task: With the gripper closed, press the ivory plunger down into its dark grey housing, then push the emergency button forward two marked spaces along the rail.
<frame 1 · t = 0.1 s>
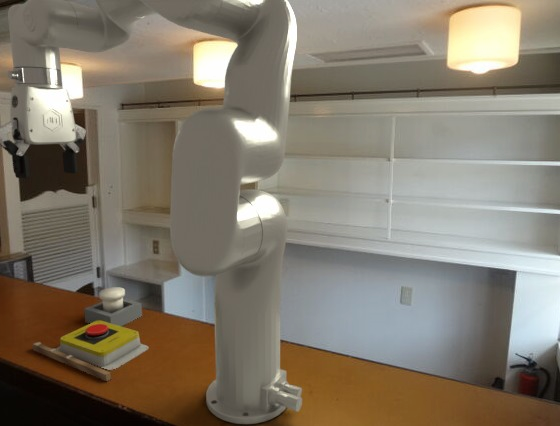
hand: (48, 175, 83), 31 cm above the bar counter, tool pointing down, fingers open, 9 cm apart
plunger: (112, 300, 93), point 4 cm above the bar counter, slide at 0.0 cm
emergency button: (102, 352, 81), on the bar counter
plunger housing: (114, 319, 94), on the bar counter
rail: (69, 363, 76), on the bar counter
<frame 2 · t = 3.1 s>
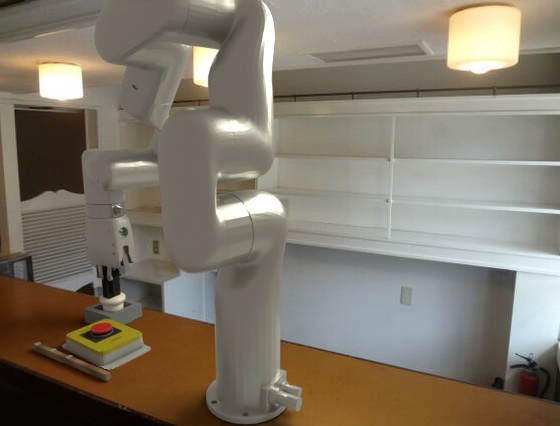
hand: (112, 296, 93), 5 cm above the bar counter, tool pointing down, fingers closed
plunger: (113, 304, 93), point 3 cm above the bar counter, slide at -1.1 cm, touching gripper
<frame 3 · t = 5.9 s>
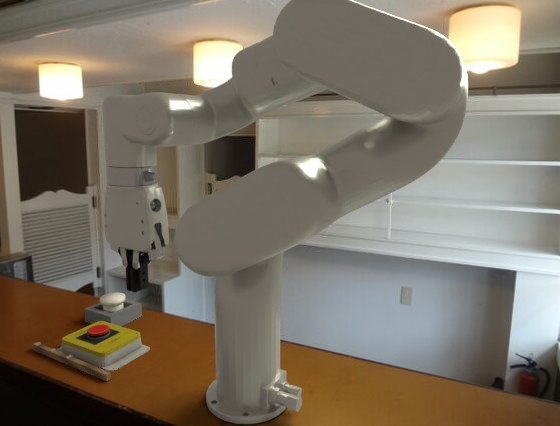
hand: (137, 288, 72), 14 cm above the bar counter, tool pointing down, fingers closed
plunger: (113, 305, 93), point 3 cm above the bar counter, slide at -1.2 cm
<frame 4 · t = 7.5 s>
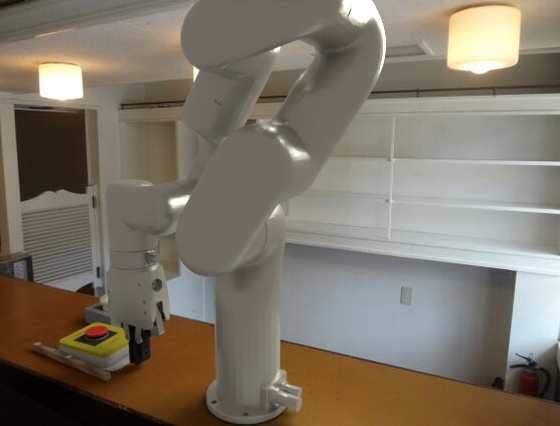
hand: (140, 360, 75), 1 cm above the bar counter, tool pointing down, fingers closed
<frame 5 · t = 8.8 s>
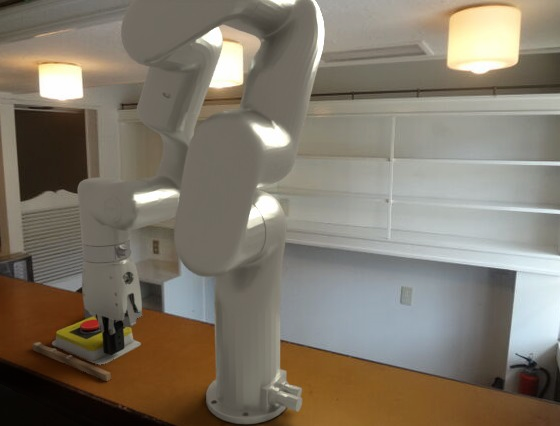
hand: (114, 350, 78), 1 cm above the bar counter, tool pointing down, fingers closed
emergency button: (96, 347, 83), on the bar counter, touching gripper
everything else where it was.
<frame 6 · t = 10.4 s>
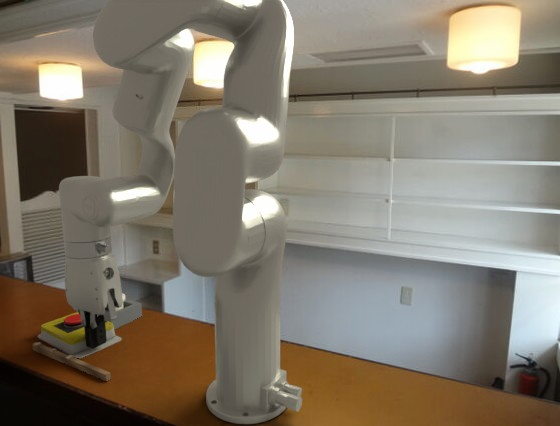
hand: (96, 344, 80), 1 cm above the bar counter, tool pointing down, fingers closed
emergency button: (79, 341, 86), on the bar counter
everything else where it was.
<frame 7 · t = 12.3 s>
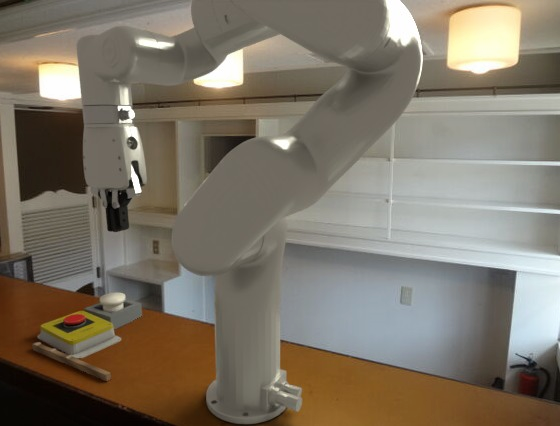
hand: (118, 229, 74), 23 cm above the bar counter, tool pointing down, fingers closed
nothing on the bar counter moved.
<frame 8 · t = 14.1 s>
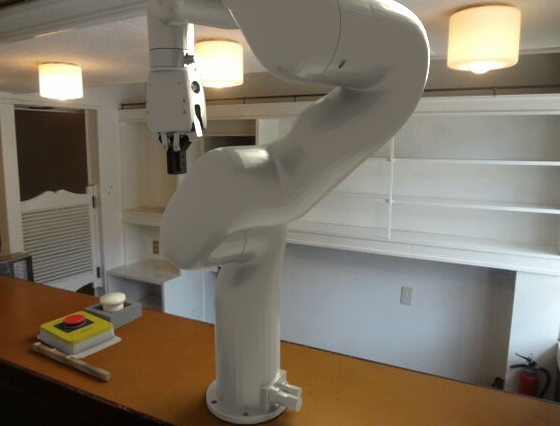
hand: (177, 173, 77), 32 cm above the bar counter, tool pointing down, fingers closed
nothing on the bar counter moved.
at the end: emergency button inside the target area (2.9 cm from its centre), on the bar counter; plunger slide at -1.2 cm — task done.
